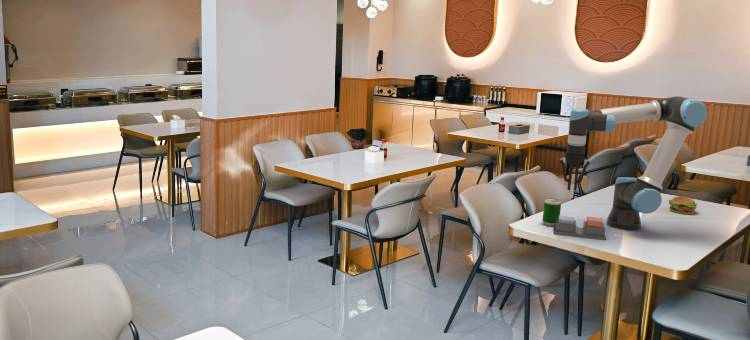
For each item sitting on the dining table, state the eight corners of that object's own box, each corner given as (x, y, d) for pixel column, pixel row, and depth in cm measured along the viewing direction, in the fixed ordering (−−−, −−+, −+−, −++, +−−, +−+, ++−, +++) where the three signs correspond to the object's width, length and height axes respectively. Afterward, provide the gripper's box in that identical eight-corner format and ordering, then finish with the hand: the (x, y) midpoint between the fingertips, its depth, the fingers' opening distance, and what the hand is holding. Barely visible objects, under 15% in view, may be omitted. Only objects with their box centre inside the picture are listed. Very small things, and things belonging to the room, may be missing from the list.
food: (698, 211, 349) (700, 196, 348) (694, 216, 338) (696, 201, 336) (669, 206, 356) (671, 192, 355) (665, 211, 345) (667, 196, 343)
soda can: (559, 227, 304) (562, 202, 302) (542, 226, 305) (545, 200, 303) (558, 223, 311) (560, 198, 309) (541, 221, 313) (544, 197, 310)
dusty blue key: (573, 223, 298) (573, 217, 298) (573, 227, 292) (574, 220, 292) (558, 222, 300) (558, 215, 299) (558, 225, 294) (559, 219, 293)
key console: (604, 233, 298) (605, 222, 297) (605, 240, 287) (607, 229, 286) (553, 227, 303) (554, 217, 302) (553, 234, 293) (554, 223, 292)
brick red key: (601, 224, 295) (602, 218, 295) (602, 228, 289) (603, 221, 289) (586, 223, 297) (587, 216, 296) (586, 226, 291) (587, 220, 290)
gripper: (591, 144, 291) (586, 196, 295) (560, 142, 294) (555, 194, 299) (592, 146, 284) (586, 200, 288) (560, 144, 287) (555, 197, 292)
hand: (571, 197), depth 293 cm, fingers closed
